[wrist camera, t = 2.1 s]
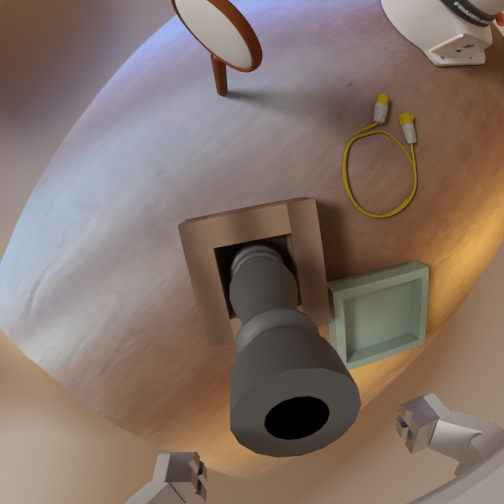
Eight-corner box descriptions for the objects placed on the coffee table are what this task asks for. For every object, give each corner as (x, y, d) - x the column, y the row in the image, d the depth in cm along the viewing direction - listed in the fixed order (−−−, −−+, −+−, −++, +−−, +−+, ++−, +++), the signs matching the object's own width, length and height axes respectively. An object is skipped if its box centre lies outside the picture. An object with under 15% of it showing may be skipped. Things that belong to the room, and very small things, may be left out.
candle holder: (265, 230, 34) (337, 332, 10) (290, 273, 35) (380, 420, 11) (220, 256, 34) (192, 404, 10) (247, 298, 36) (267, 472, 11)
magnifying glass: (193, 76, 30) (153, -26, 10) (204, 67, 29) (176, -40, 10) (242, 122, 31) (252, 41, 12) (253, 113, 31) (277, 25, 11)
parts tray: (414, 260, 36) (428, 266, 33) (413, 333, 39) (424, 343, 35) (324, 282, 36) (332, 292, 32) (331, 359, 39) (338, 372, 35)
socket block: (303, 197, 33) (315, 198, 29) (319, 305, 37) (330, 322, 32) (186, 219, 33) (177, 225, 28) (212, 327, 36) (209, 347, 31)
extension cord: (438, 151, 33) (446, 150, 31) (382, 235, 36) (389, 237, 34) (380, 89, 31) (387, 85, 29) (315, 173, 33) (319, 172, 31)
